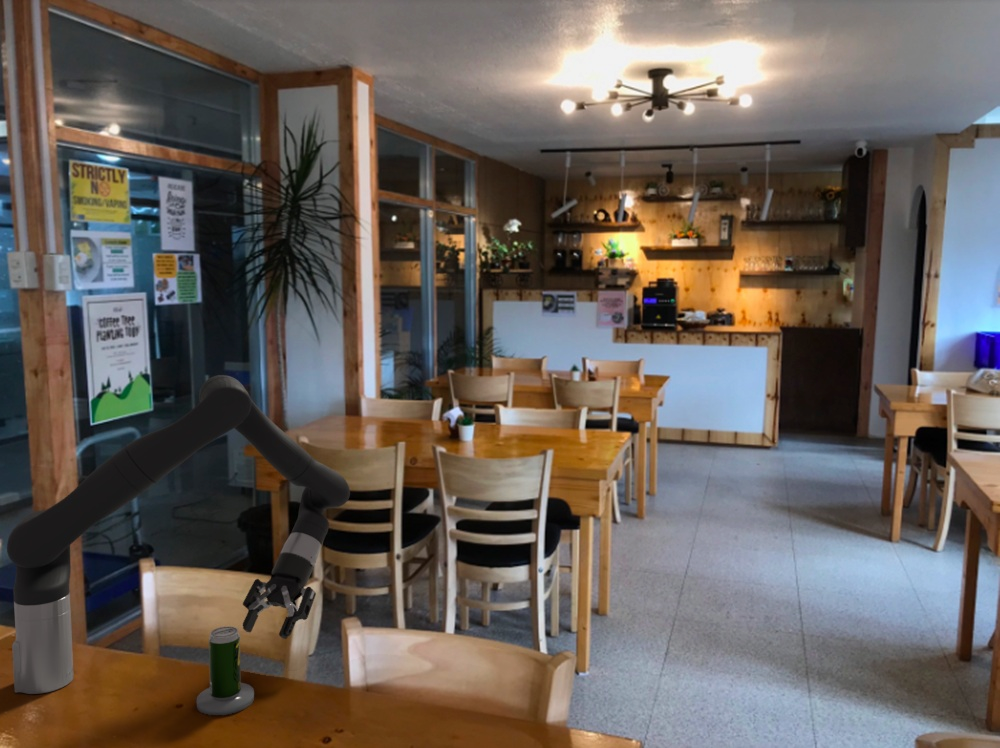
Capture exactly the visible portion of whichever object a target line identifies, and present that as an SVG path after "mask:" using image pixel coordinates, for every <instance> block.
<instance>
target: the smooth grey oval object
mask: <svg viewBox="0 0 1000 748" xmlns="http://www.w3.org/2000/svg"><path fill="white" fill-rule="evenodd" d="M254 701H255V690H254V688H253V686H251V685H250V684H248V683H245V682H241V690H240V693H239V695H238V696H237V697H236V698H234V699H231V700H228V701H216V700H214V699H213V698H212V696H211V694H210V687H207V688H206V689H204V690H203V691H201V692H200V693H199V694H198V695H197V696H196V709H197V711H199V712H200V713H201V714H203V713H204V715H206V714H208V715H207V716H211V715H222V716H229V715H233V714H236V713H239V712H241V711H244V710H245V709H247V708H249V706H251V705H252V704H253V702H254ZM232 713H233V714H232ZM228 714H229V715H228Z"/></svg>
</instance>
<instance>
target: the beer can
mask: <svg viewBox="0 0 1000 748" xmlns="http://www.w3.org/2000/svg"><path fill="white" fill-rule="evenodd" d="M240 636H241V635H240V633H239V628H237V627H235V626H222V627H217V628H215V629H213V630H211V631H210V632H209V637H208V652H209V653H208V656H209V657H208V658H209V661H208V663H209V688H210V694H211V696H212V698H213V699H214V700H216V701H228V700H231V699H234V698H236V697H237V696H238V695H239V693H240V690H241V683H242V678H241V677H242V675H241V674H242V673H241V670H242V669H241V638H240Z"/></svg>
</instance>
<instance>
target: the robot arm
mask: <svg viewBox="0 0 1000 748" xmlns="http://www.w3.org/2000/svg"><path fill="white" fill-rule="evenodd" d="M198 401H199V403H198V404H197V405H196V406H195V407H193V408H192V409H191V410H190V411H188V412H187V413H186V414H185V415H183V416H181V418H179V419H178V420H176V421H174V422H173V423H171V424H169V425H168V426H165V427H162V428H160V429H156V430H155V431H151V432H149V433H147V434H144V435H142V436H141V437H140V436H139V437H138V438H136V439H134V440H133V441H130V443H127V444H126V445H125V446H123V447H122V448H121V449H119V450H118V451H117V452H114V454H112V455H111V456H110V457H108V458H107V459H106V460H104V461H103V462H102V463H101V464H100V465H99V466H97V468H95V469H94V470H93V471H92V472H91V473H89V475H88V476H87V477H85V479H84V480H83V481H82V482H80V484H78V485H77V486H76V487H75V488H74V489H73V491H71V492H70V493H69V494H68V495H66V496H65V497H64V498H62V499H61V500H60V501H58V502H57V503H55V504H54V505H52V506H50V507H49V508H47V509H46V510H45V509H44V510H43V509H42V510H36V511H33V512H30V513H29V514H27V515H25V516H24V517H23V518H21V520H20V521H19V522H18V523H17V524H16V525H15V526H14V528H13V529H12V530H11V532H10V534H9V535H8V539H7V542H6V553H7V556H8V558H9V560H10V561H11V562H12V563H14V565H15V566H16V567H15V568H16V569H15V580H14V585H13V588H12V589H13V593H12V594H13V608H14V611H13V612H14V624H15V640H14V641H13V643H12V646H11V649H12V667H13V668H12V669H13V684H14V686H13V687H14V693H23V694H28V695H38V694H39V695H40V694H45V693H50V692H54V691H57V690H60V689H62V688H63V687H65V686H67V685H69V684H70V683H72V681H73V680H74V662H73V661H74V657H73V638H72V637H73V636H72V635H73V633H72V616H71V615H72V614H71V595H70V594H71V593H70V582H71V581H70V580H71V573H72V571H71V567H72V566H71V545H72V544H73V543H74V542H75V541H77V539H78V538H80V537H81V536H82V535H83V534H84V533H86V532H87V531H88V530H90V528H92V527H93V526H95V525H96V524H97V523H99V522H101V521H102V520H103V519H104V520H105V518H107V517H109V516H110V515H112V514H113V513H115V512H116V511H117V512H118V510H120V509H121V508H123V507H124V506H126V505H128V504H129V503H131V502H132V501H133V500H135V499H136V498H137V497H140V496H141V495H142V494H144V492H146V491H147V490H149V489H150V488H152V486H154V485H155V484H157V483H158V482H159V481H161V480H162V479H163V478H164V477H165V476H167V475H168V474H169V473H170V472H172V471H174V470H175V469H176V468H177V467H179V466H180V465H182V463H184V462H185V461H186V460H187V459H189V458H190V457H192V456H193V455H194V454H195V453H197V452H198V451H200V450H201V449H202V448H204V447H205V446H207V445H208V444H210V443H212V442H213V441H216V440H217V439H219V438H220V437H222V436H224V435H225V434H226V433H229V432H230V431H232V430H233V429H234V430H236V431H237V432H238V433H239V434H240V435H242V436H243V437H244V438H245V439H246V440H247V441H248V442H249V443H250V444H251V446H253V447H254V448H255V449H256V451H257V452H258V453H259V454H260V455H261V456H262V457H263V458H264V459H265V460H266V461H267V462H268V464H270V466H271V467H273V468H274V470H276V471H277V472H278V473H279V474H280V475H282V476H283V477H284V478H285V479H286V480H287V481H288V482H290V483H291V484H292V485H294V486H297V487H303V488H304V489H303V491H302V494H301V498H300V504H299V508H298V515H297V519H296V521H295V523H294V526H293V527H292V530H291V533H290V534H289V535H288V537H287V540H286V541H285V542H284V544H283V547H282V549H281V551H280V553H279V556H278V558H277V560H276V562H275V564H274V566H273V568H272V570H271V576H270V578H269V580H268V581H267V582H265V581H261V580H260V579H259V578H256V579H255V580H254V581H253V582H252V585H251V587H250V588H249V590H248V592H247V595H246V596H245V598H244V600H243V601H242V605H243V607H244V608H245V609H247V610H248V611H247V613H246V615H245V617H244V620H243V623H242V630H243V631H245V632H247V633H252V631H253V628H254V626H255V624H256V622H257V620H258V617H259V614H260V613H262V612H263V611H264V610H266V609H269V608H271V607H281V608H284V609H286V610H287V616H285V618H284V622H283V624H282V626H281V628H280V630H279V632H278V636H279V637H280V638H281V639H282V640H283V639H284V640H287V639H288V637H290V636H291V635H292V632H293V630H294V628H295V625H296V623H297V622H299V620H304V621H305V620H307V619H308V618H309V615H310V612H311V609H312V606H313V604H314V601H315V598H316V596H317V595H316V594H317V593H316V591H315V590H314V589H313V588H312V587H311V586H307V587H306V585H307V584H308V581H309V579H310V576H311V574H312V572H313V569H314V567H315V564H316V563H317V560H318V558H319V555H320V552H321V547H322V545H323V544H324V540H325V538H326V536H327V534H328V531H329V528H330V522H329V519H328V518H327V517H326V516H324V514H325V511H326V510H328V509H335V508H339V507H342V506H344V505H345V504H346V503H347V502H348V501H349V498H350V495H351V492H350V491H351V490H350V486H349V483H348V482H347V480H346V479H345V478H344V476H342V474H340V473H339V472H337V471H336V470H333V469H332V468H331V467H328V466H327V465H325V464H323V463H322V462H319V461H318V460H316V459H315V458H313V457H312V456H311V454H309V453H308V451H306V450H305V449H304V448H303V447H302V446H300V445H299V444H298V443H297V442H296V441H295V440H294V439H293V438H291V437H290V436H289V435H288V434H287V433H286V432H284V431H283V430H282V429H281V428H280V427H279V426H278V425H276V424H275V423H274V422H273V421H272V420H271V419H270V418H269V417H268V416H267V415H266V414H265V413H264V412H263V411H262V410H261V409H260V408H259V406H257V405H256V403H255V402H254V401H253V399H252V398H251V396H250V393H249V392H248V390H247V389H246V388H245V386H244V385H243V384H242V383H241V382H240V381H239V380H238V379H237V378H235V377H233V376H230V375H226V374H219V375H214V376H211V377H210V378H208V379H207V380H206V381H204V382H203V384H202V385H201V387H200V389H199V393H198ZM305 587H306V588H305ZM299 598H301V601H300V602H299V603H300V604H299V607H298V605H297V600H299Z"/></svg>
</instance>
